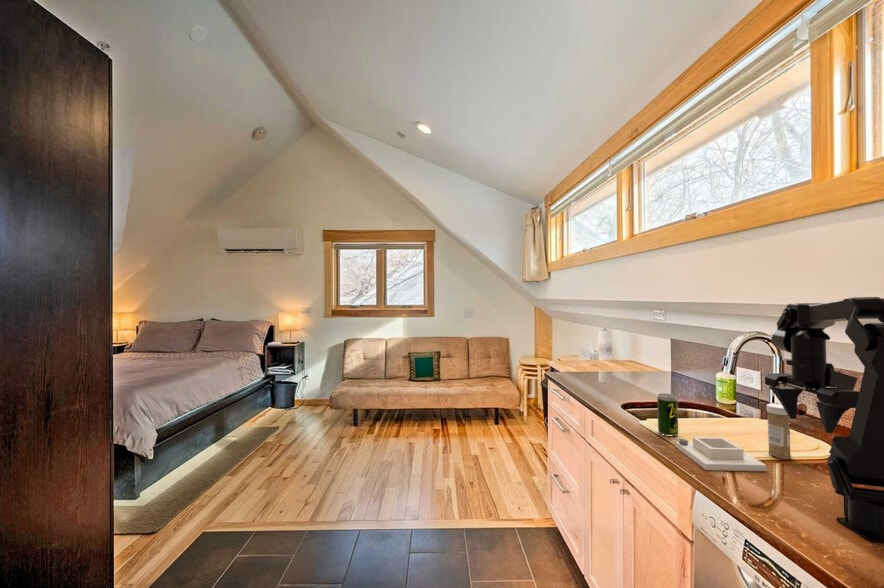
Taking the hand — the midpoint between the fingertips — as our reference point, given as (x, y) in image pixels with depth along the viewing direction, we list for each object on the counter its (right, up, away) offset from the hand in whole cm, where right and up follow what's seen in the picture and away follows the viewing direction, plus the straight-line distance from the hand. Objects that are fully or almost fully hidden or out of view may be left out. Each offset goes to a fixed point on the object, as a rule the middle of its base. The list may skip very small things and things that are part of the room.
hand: (810, 425), depth 85 cm
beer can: (-14, -14, +30) cm, 36 cm away
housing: (-12, -13, +13) cm, 22 cm away
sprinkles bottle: (+5, -13, +14) cm, 20 cm away
